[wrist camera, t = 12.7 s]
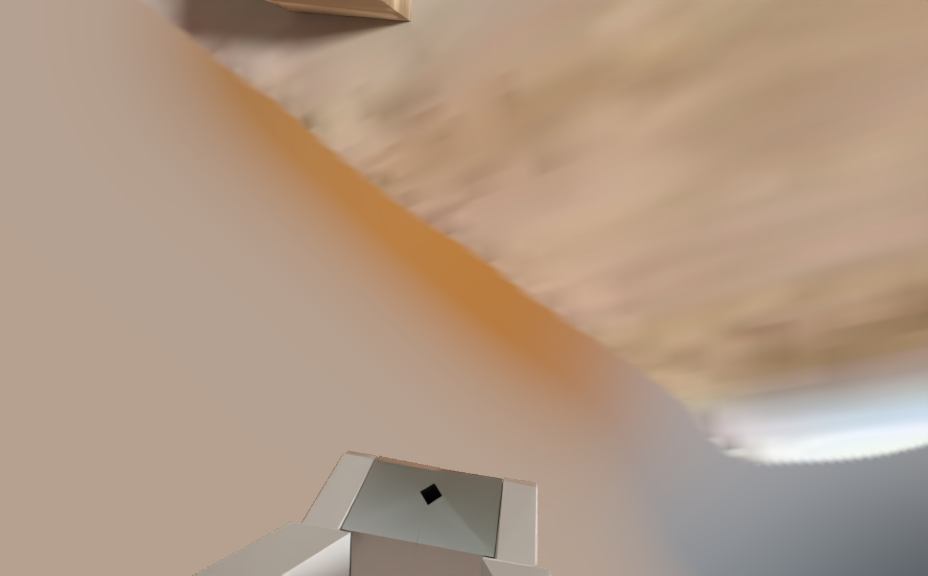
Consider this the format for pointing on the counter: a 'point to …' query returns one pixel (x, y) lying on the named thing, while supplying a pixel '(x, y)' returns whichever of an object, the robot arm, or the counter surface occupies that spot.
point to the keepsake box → (351, 8)
